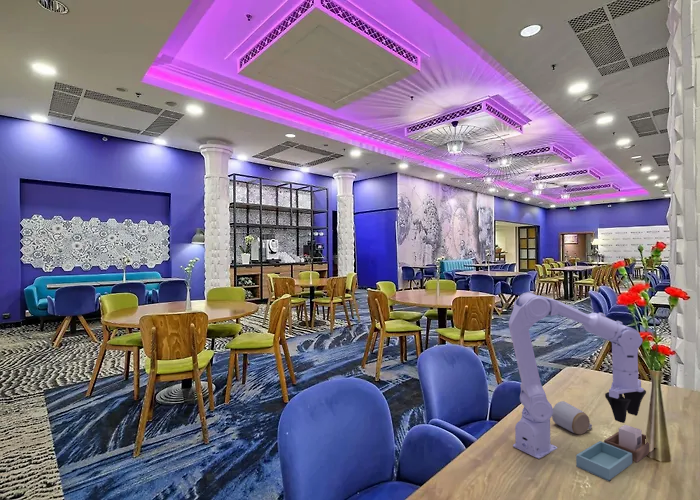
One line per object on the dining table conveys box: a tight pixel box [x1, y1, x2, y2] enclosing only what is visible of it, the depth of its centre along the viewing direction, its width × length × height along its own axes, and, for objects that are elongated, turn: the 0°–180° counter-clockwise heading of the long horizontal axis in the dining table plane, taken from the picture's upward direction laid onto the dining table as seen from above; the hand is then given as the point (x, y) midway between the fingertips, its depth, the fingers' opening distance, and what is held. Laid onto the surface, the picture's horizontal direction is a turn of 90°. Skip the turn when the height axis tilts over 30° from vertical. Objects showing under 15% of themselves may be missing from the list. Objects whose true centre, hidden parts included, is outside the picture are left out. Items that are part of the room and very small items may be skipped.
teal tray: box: [575, 440, 633, 482], centre depth 97 cm, size 13×8×3 cm, turn 122°
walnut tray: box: [603, 431, 650, 463], centre depth 104 cm, size 13×8×3 cm, turn 122°
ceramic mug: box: [551, 400, 593, 435], centre depth 117 cm, size 11×8×8 cm
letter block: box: [618, 424, 643, 451], centre depth 104 cm, size 4×4×6 cm
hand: (626, 417), depth 103 cm, fingers open, 7 cm apart
